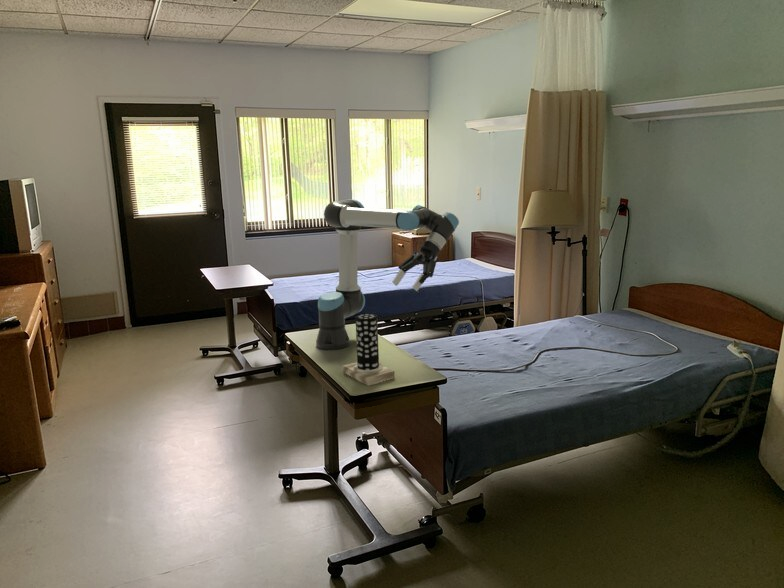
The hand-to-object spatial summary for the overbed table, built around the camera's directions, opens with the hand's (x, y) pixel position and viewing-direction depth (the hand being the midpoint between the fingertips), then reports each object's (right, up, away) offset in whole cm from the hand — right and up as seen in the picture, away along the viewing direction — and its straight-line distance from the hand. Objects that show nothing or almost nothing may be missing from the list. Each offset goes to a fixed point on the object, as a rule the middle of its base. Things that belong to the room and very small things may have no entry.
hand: (404, 286), depth 236 cm
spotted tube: (-14, -31, -9) cm, 35 cm away
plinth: (-14, -35, -8) cm, 38 cm away
